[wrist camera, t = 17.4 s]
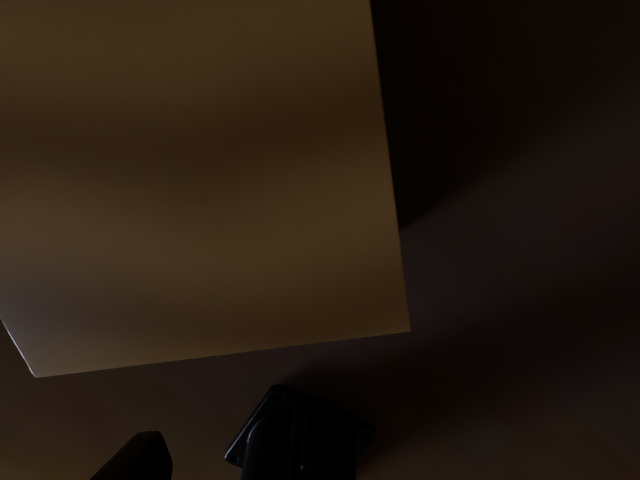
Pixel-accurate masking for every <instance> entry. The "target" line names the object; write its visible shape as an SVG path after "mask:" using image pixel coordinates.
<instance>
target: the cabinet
mask: <svg viewBox="0 0 640 480" xmlns="http://www.w3.org/2000/svg"><path fill="white" fill-rule="evenodd" d="M0 319H1V320H2V322H3V324H4V326H5V327H6V329H7V331H8V332H9V334H10V336H11V337H12V339H13V341H14V342H15V344H16V346H17V348H18V349H19V351H20V353H21V354H22V356H23V358H24V359H25V361H26V363H27V365H28V366H29V368H30V370H31V371H32V373H33V375H34V376H35V377H36V378H38V377H46V376H54V375H62V374H70V373H78V372H86V371H94V370H102V369H110V368H118V367H126V366H134V365H142V364H151V363H159V362H167V361H175V360H183V359H191V358H199V357H207V356H215V355H223V354H231V353H239V352H247V351H255V350H263V349H272V348H280V347H288V346H296V345H304V344H312V343H320V342H328V341H336V340H344V339H352V338H360V337H368V336H376V335H384V334H393V333H401V332H409V331H411V323H410V315H409V307H408V299H407V291H406V283H405V275H404V267H403V259H402V251H401V243H400V235H399V227H398V219H397V211H396V203H395V195H394V187H393V179H392V171H391V163H390V155H389V147H388V139H387V131H386V123H385V115H384V107H383V99H382V91H381V83H380V75H379V67H378V59H377V51H376V43H375V35H374V27H373V19H372V11H371V3H370V0H0Z"/></svg>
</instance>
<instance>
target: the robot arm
mask: <svg viewBox="0 0 640 480" xmlns="http://www.w3.org/2000/svg"><path fill="white" fill-rule="evenodd" d="M277 393H278V394H281V395H276V394H277ZM366 433H369V434H366ZM376 438H377V431H376V428H375V426H373V425H371V424H369V423H367V422H365V421H362V420H360V419H358V418H356V417H353V416H351V415H349V414H347V413H344V412H342V411H340V410H338V409H335V408H333V407H331V406H329V405H326V404H324V403H322V402H320V401H317V400H315V399H313V398H311V397H308V396H306V395H304V394H302V393H299V392H297V391H295V390H292V389H290V388H288V387H286V386H283V385H280V384H276V385H273V386H272V387H271V388H270V389H269V390H268V392H267V393H266V395H265V396H264V397H263V399H262V400H261V402H260V403H259V405H258V406H257V407H256V409H255V410H254V412H253V413H252V415H251V416H250V417H249V419H248V420H247V422H246V423H245V424H244V426H243V427H242V429H241V430H240V432H239V433H238V434H237V436H236V437H235V439H234V440H233V442H232V443H231V444H230V446H229V447H228V449H227V451H226V455H225V460H226V461H227V462H229V463H231V464H233V465H236V466H238V467H241V468H243V469H242V474H241V479H240V480H356V467H355V462H356V461H357V460H358V459H359V458H360V456H361V455H362V454H363V453H364V452H365V451H366V450H367V449H368V448H369V446H370V445H371V444H372V443H373V442H374V441H375V440H376ZM172 468H173V466H172V459H171V456H170V454H169V451H168V449H167V446H166V443H165V441H164V438H163V436H162V434H161V433H160V432H159V431H146V432H139V433H137V434H136V435H134V436H133V437H132V438H131V439H130V440H129V441H128V442H127V443H126V444H125V445H124V446H123V447H122V448H121V449H120V450H119V451H118V452H117V453H116V454H115V455H114V456H113V457H112V458H111V459H110V460H109V461H108V462H107V463H106V464H105V465H104V466H103V467H102V468H101V469H100V470H99V471H98V472H97V473H96V474H95V475H94V476H93V477H92V478H91V479H90V480H171V476H172Z"/></svg>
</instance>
